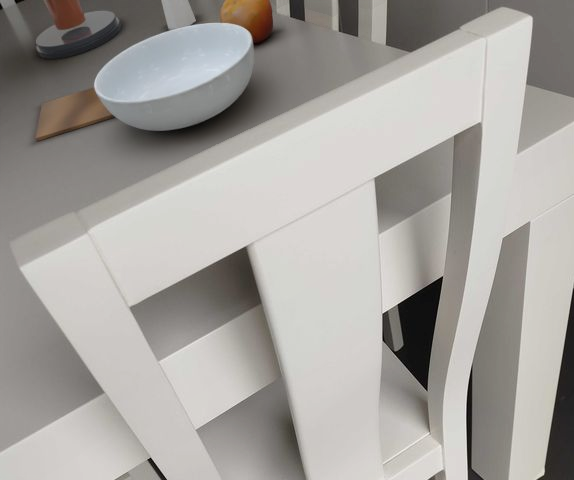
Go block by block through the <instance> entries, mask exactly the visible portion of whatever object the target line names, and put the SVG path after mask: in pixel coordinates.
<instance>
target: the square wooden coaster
mask: <svg viewBox="0 0 574 480" xmlns="http://www.w3.org/2000/svg"><path fill="white" fill-rule="evenodd" d="M114 118H116V117H115V116H114V115H113V114H111V113H110V111H109V110H108V109H107V108H106V107H105V106H104V104H103V103H102V101H101V100H100V98H99V97H98V95H97V94H96V92H95V89H94V87H91V88H87V89H84V90H81V91H78V92H75V93H71V94H68V95H66V96H62V97H59V98H56V99H52V100H48V101H45V102H43V103H41V107H40V111H39V116H38V122H37V127H36V133H35V137H34V138H35V140H36V142H40V141H43V140H45V139H46V140H47V139H49V138H52V137H56V136H59V135H61V134H65V133H68V132H71V131H75V130H79V129H81V128H85V127H88V126H92V125H95V124H99V123H101V122H103V121H107V120H110V119H114Z"/></svg>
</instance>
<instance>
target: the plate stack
mask: <svg viewBox="0 0 574 480" xmlns="http://www.w3.org/2000/svg"><path fill="white" fill-rule="evenodd" d="M83 13H84V15H85V18H86V20H85V21H84V22H83V23H82V24H80V25H78V26H76V27H73V28H70V29H66V30H58V29H57V28H56V26H55V24H53V25H51V26H49V27H48V28H46V29H44V30H43V31H42V32H41V33H40V34H39V35H37V37H36V40H35V44H36V51H37V53H38V55H39V56H40V57H41V58H43V59H47V60H57V59H64V58H69V57H73V56H77V55H80V54H84V53H86V52H89V51H91V50H93V49H96V48H98V47H100V46H102V45H104V44H105V43H107V42H109V41H110V40H112V39H113V38H115V36H117V35H118V34H119V33H120V31H121V29H122V23H121V21H120V19H119V18H118V17H117V16H116V15H115V13H114V12H113V11H110V10H94V11H87V12H83Z"/></svg>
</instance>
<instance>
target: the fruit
mask: <svg viewBox="0 0 574 480" xmlns="http://www.w3.org/2000/svg"><path fill="white" fill-rule="evenodd" d="M219 14H220V15H219V16H220V23H229V24H235V25H239V26H241V27H243V28H245V29H246V30H248V31H249V32H250V34H251V36H252V39H253V44H260V43H261V42H263V41H265V40H266V39H267V38H269V36H271V34H272V33H273V32H274V17H273V6H272V4H271V1H270V0H224V2H223V4H222V6H221V9H220V11H219Z"/></svg>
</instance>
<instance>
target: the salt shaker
mask: <svg viewBox="0 0 574 480" xmlns="http://www.w3.org/2000/svg"><path fill="white" fill-rule="evenodd" d="M161 5H162V9H163V13H164V16H165V17H164V18H165V21H166V25H167V30H168V31H170V30H174V29H178V28H182V27H186V26H191V25H194V24H195V23H196V21H197V19H196V18H195V15H194V12H193V10H192V7H191V5H190V2H189V0H161Z"/></svg>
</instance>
